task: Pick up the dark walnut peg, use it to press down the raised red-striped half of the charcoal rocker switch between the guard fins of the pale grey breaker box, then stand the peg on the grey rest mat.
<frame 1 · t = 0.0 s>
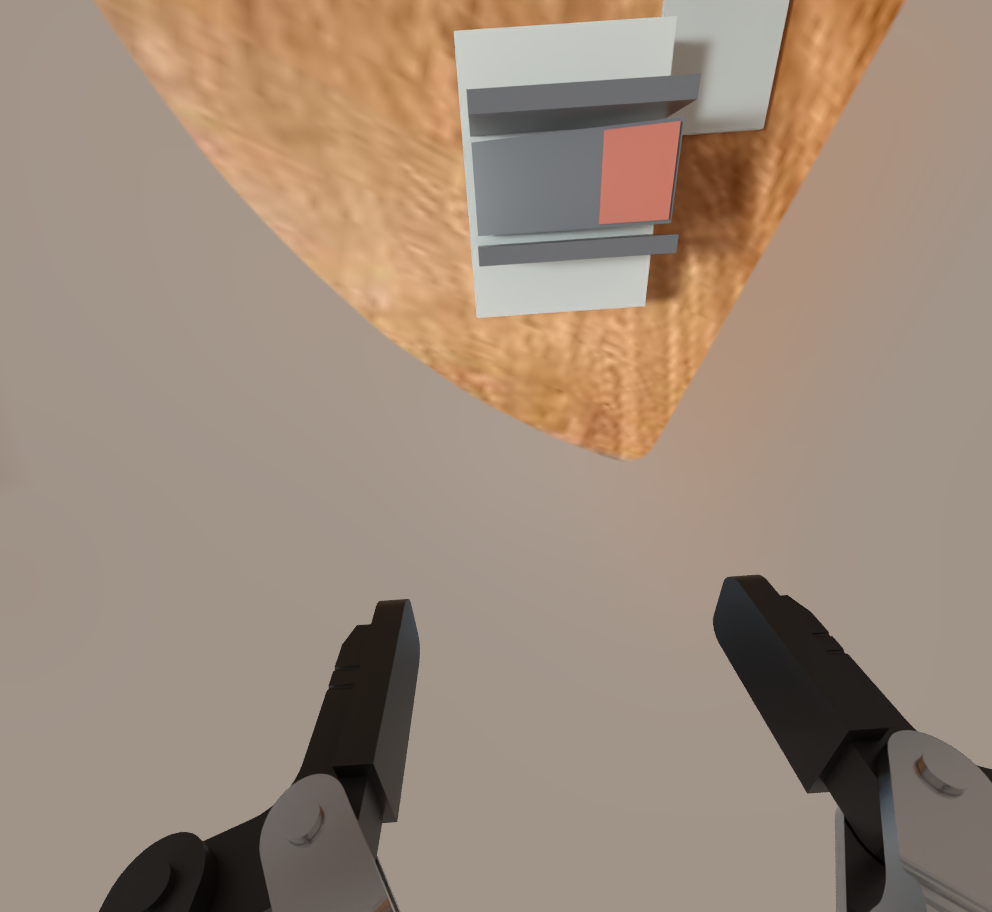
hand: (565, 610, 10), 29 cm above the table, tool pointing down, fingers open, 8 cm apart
rocker: (571, 183, 25), point 7 cm above the table, hinge at 15.0°
breaker box: (553, 193, 31), on the table
rest mat: (715, 59, 27), on the table
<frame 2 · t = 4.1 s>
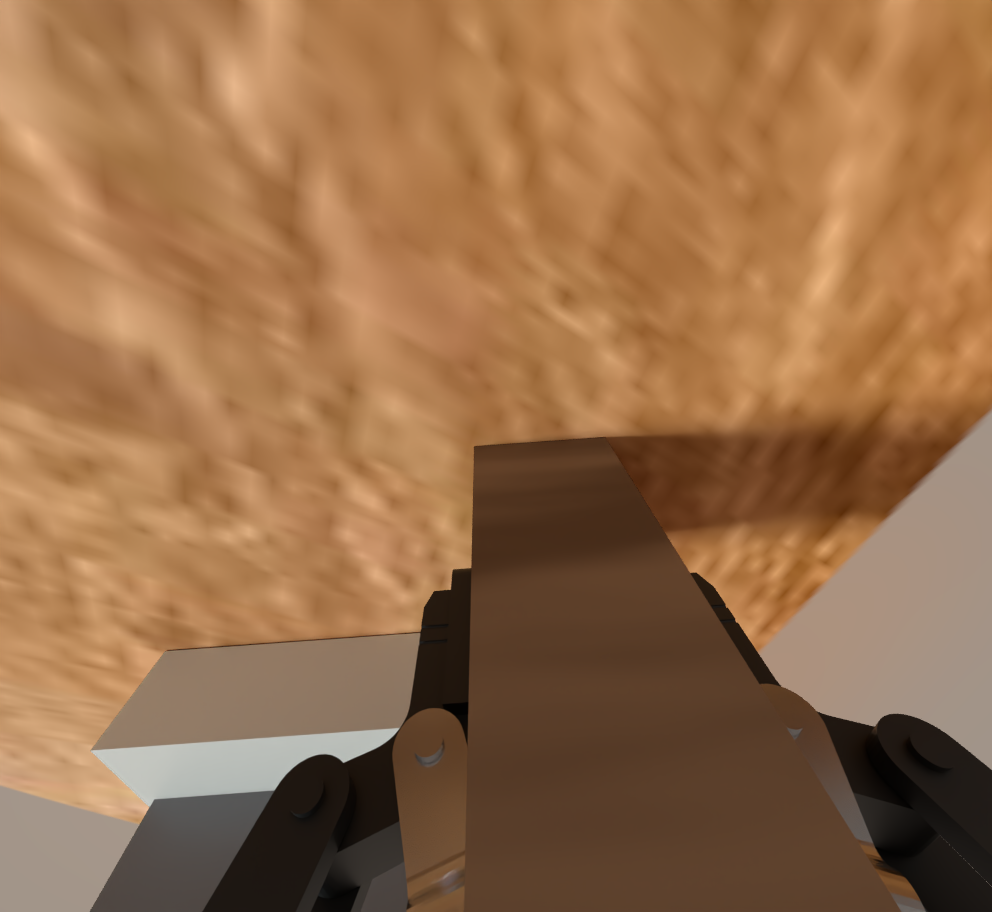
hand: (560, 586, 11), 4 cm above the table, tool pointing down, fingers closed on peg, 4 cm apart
peg: (540, 496, 15), on the table, touching gripper
breaker box: (350, 736, 22), on the table
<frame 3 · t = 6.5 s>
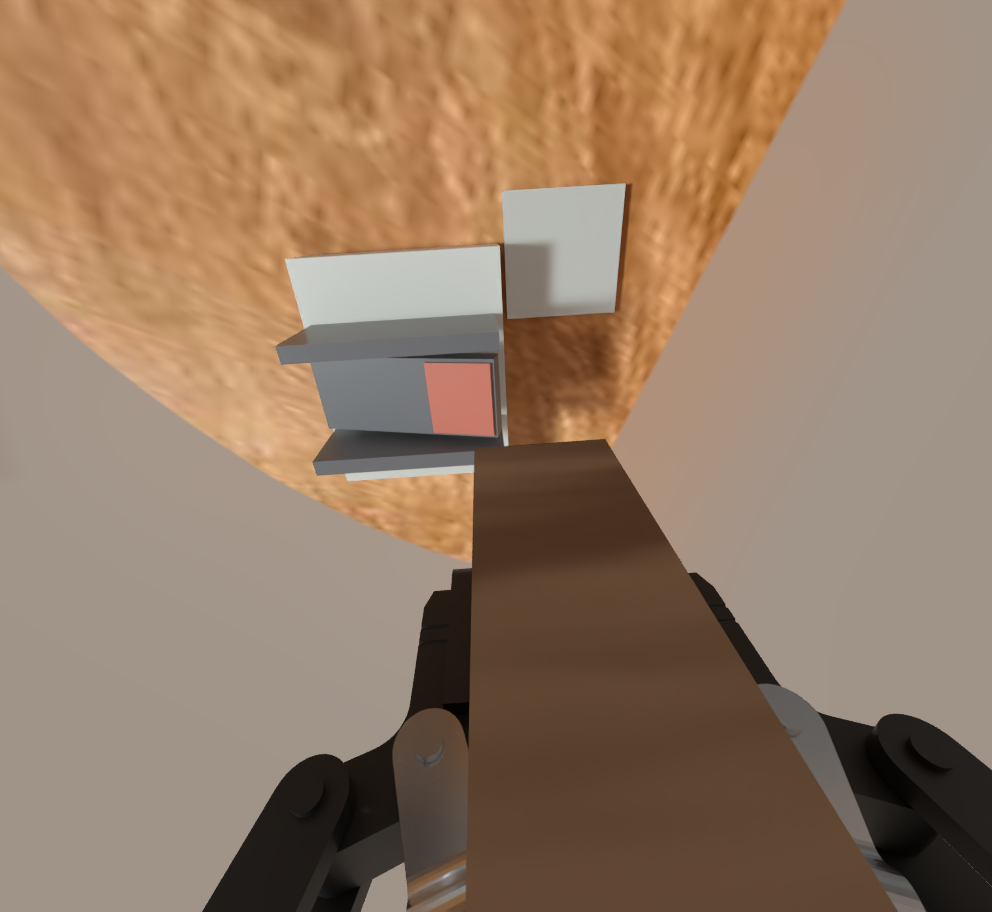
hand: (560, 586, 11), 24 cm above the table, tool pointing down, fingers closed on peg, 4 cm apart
rocker: (406, 394, 26), point 7 cm above the table, hinge at 15.0°
peg: (540, 497, 15), point 19 cm above the table, touching gripper
breaker box: (419, 362, 32), on the table
rest mat: (561, 255, 29), on the table
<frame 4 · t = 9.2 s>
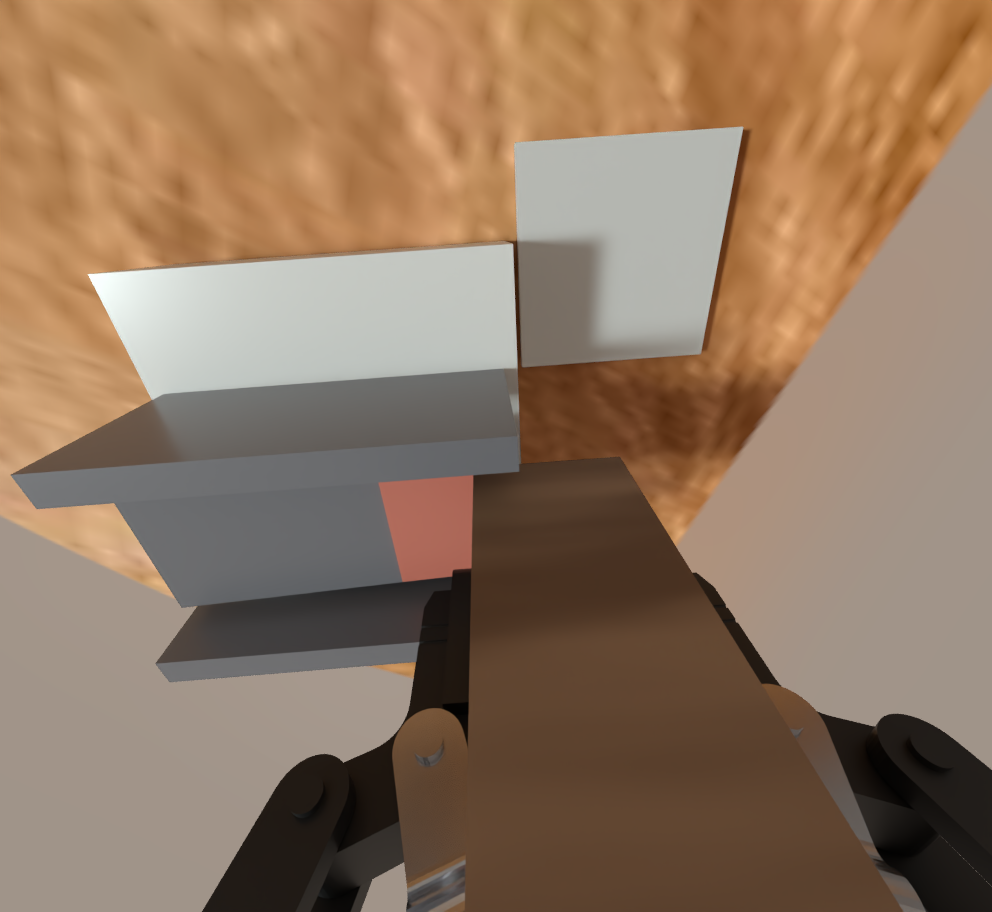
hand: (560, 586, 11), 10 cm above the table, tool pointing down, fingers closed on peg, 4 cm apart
rocker: (339, 524, 14), point 7 cm above the table, hinge at -2.8°, touching peg
peg: (546, 520, 13), point 7 cm above the table, touching gripper, rocker
breaker box: (380, 434, 20), on the table
rest mat: (615, 260, 16), on the table
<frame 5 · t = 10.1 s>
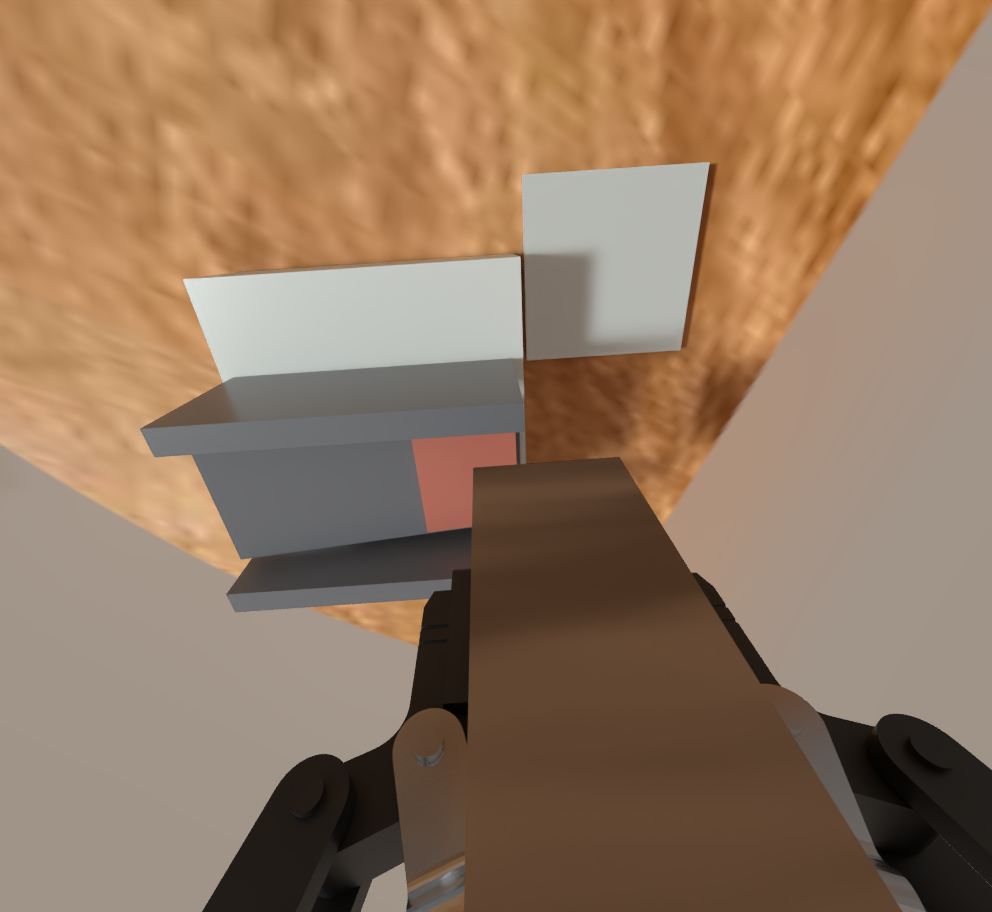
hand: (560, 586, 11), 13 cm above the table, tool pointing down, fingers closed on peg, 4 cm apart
rocker: (376, 484, 17), point 7 cm above the table, hinge at -6.4°
peg: (546, 520, 14), point 10 cm above the table, touching gripper
breaker box: (403, 419, 23), on the table
rest mat: (606, 270, 20), on the table
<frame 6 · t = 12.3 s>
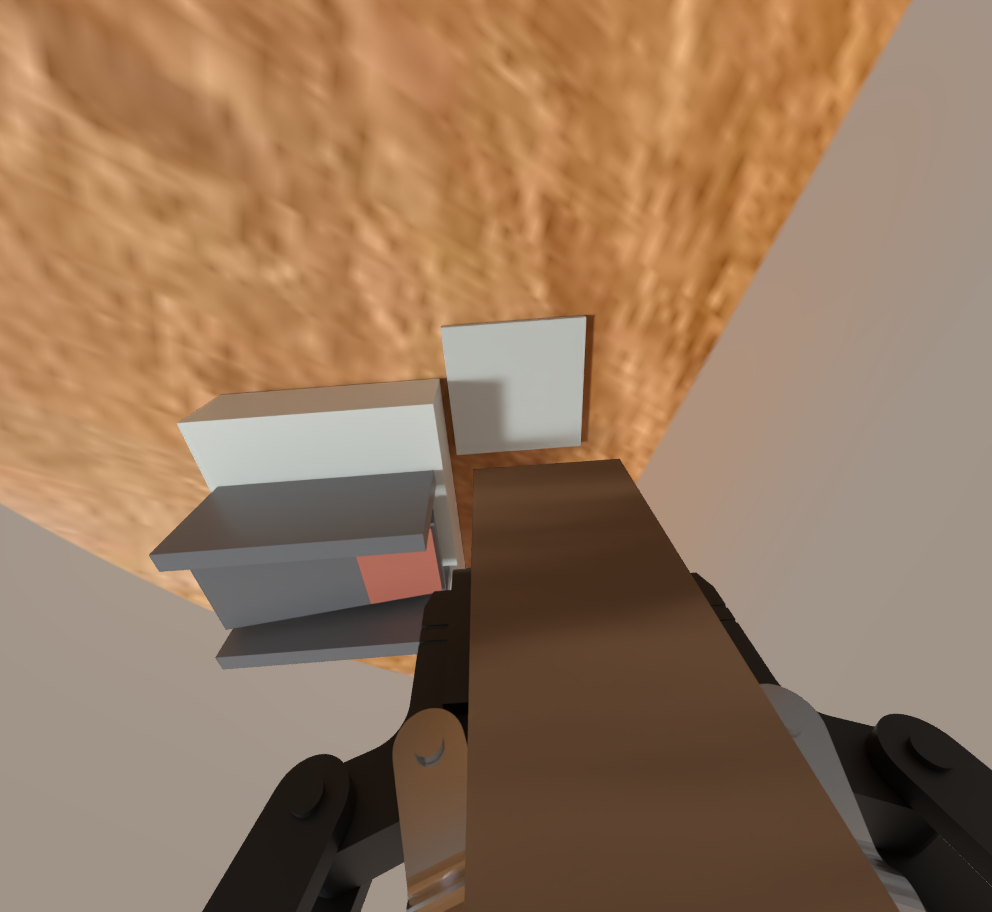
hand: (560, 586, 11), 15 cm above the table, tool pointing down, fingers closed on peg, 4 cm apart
rocker: (329, 570, 22), point 7 cm above the table, hinge at -7.4°
peg: (546, 522, 14), point 13 cm above the table, touching gripper
breaker box: (360, 497, 28), on the table
rest mat: (515, 388, 25), on the table
when the fingers open (6 cm above the table, at t = 14.3 s): peg drops 2 cm, resting on rest mat.
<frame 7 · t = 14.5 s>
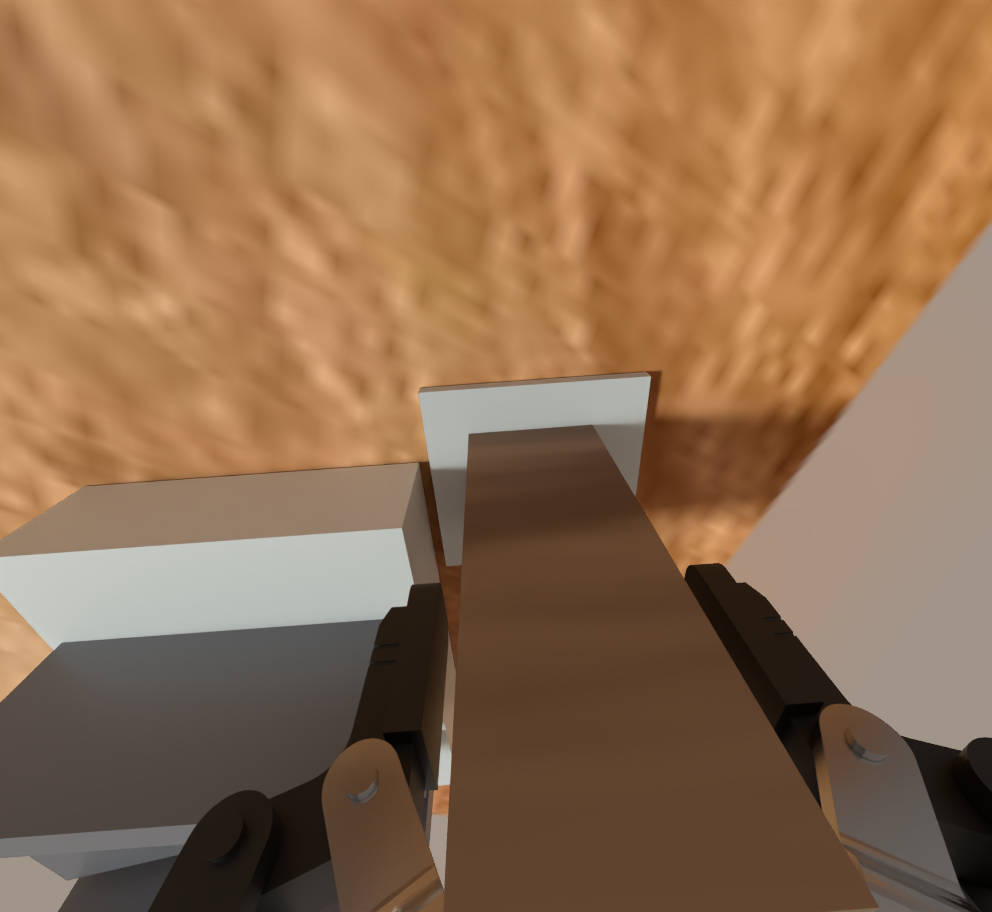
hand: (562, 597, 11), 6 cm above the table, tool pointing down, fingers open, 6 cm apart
rocker: (234, 786, 13), point 7 cm above the table, hinge at -7.5°
peg: (531, 481, 16), resting on rest mat
breaker box: (309, 615, 20), on the table
rest mat: (534, 476, 16), on the table
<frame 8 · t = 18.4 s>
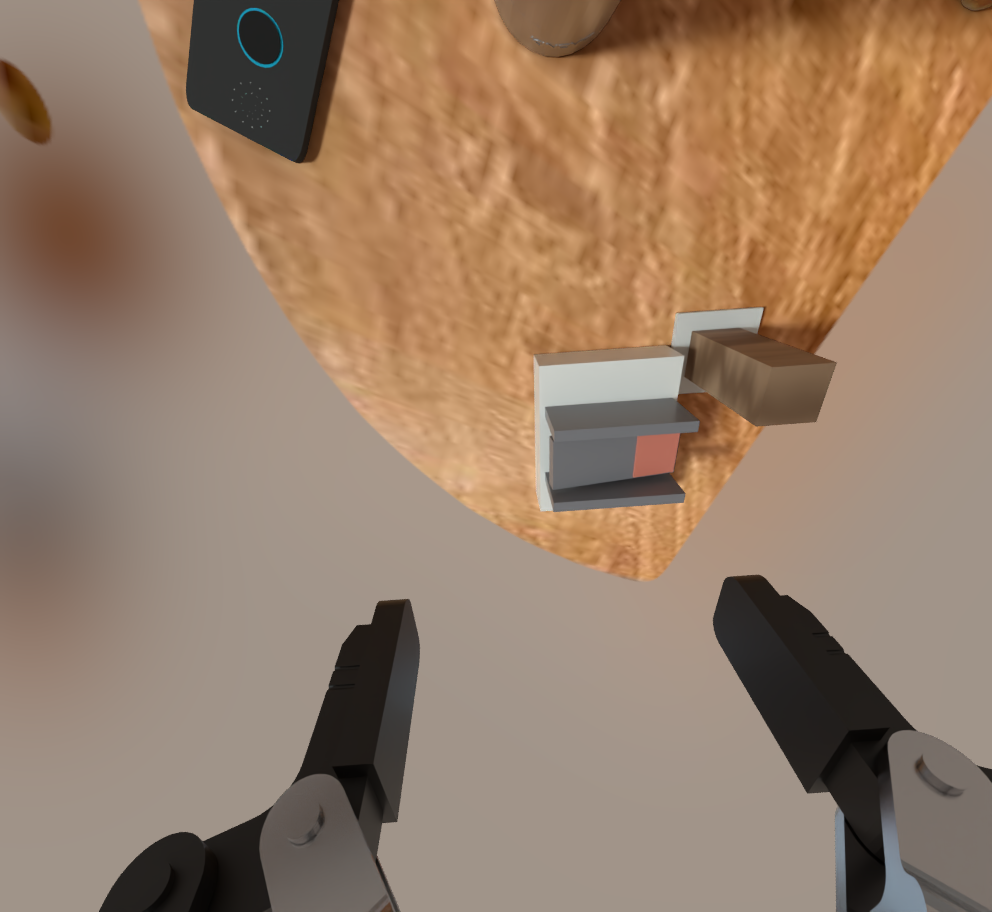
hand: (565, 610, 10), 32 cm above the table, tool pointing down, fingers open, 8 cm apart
rocker: (614, 455, 37), point 7 cm above the table, hinge at -7.5°
peg: (710, 352, 40), resting on rest mat
breaker box: (595, 424, 43), on the table
rest mat: (709, 352, 40), on the table
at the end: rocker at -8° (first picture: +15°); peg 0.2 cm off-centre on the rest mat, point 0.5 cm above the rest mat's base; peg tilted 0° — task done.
